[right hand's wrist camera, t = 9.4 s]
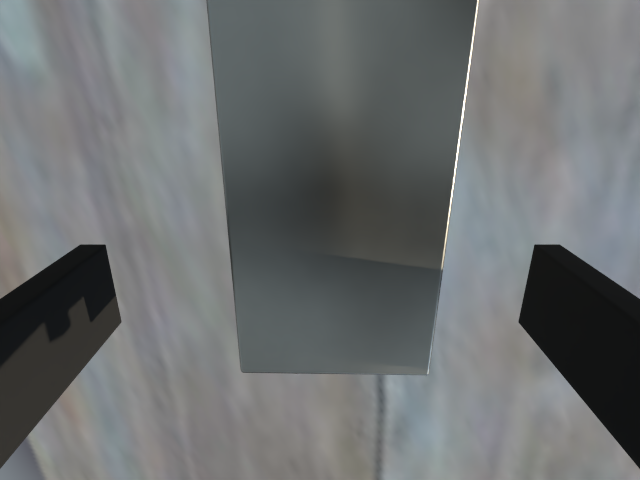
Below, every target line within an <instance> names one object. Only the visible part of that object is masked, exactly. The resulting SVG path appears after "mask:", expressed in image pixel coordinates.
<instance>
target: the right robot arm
mask: <svg viewBox="0 0 640 480" xmlns="http://www.w3.org/2000/svg"><path fill="white" fill-rule="evenodd" d="M120 323H121V317H120V312H119V308H118V303H117V298H116V293H115V288H114V284H113V279H112V274H111V269H110V264H109V260H108V255H107V250H106V245H79V246H78V247H76V248H75V249H73V250H72V251H70V252H69V253H67V254H66V255H64V256H63V257H61V258H60V259H59V260H57V261H56V262H54V263H53V264H51V265H50V266H48V267H47V268H45V269H44V270H42V271H41V272H39V273H38V274H36V275H35V276H33V277H32V278H31V279H29V280H28V281H26V282H25V283H23V284H22V285H20V286H19V287H17V288H16V289H14V290H13V291H11V292H10V293H8V294H7V295H6V296H4V297H3V298H1V299H0V468H1V467H2V466H3V465H4V463H5V462H6V461H7V460H8V459H9V457H10V456H11V455H12V454H13V453H14V451H15V450H16V449H17V448H18V447H19V445H20V444H21V443H22V442H23V441H24V439H25V438H26V437H27V436H28V434H29V433H30V432H31V431H32V430H33V428H34V427H35V426H36V425H37V424H38V422H39V421H40V420H41V419H42V418H43V416H44V415H45V414H46V413H47V411H48V410H49V409H50V408H51V407H52V405H53V404H54V403H55V402H56V401H57V399H58V398H59V397H60V396H61V395H62V393H63V392H64V391H65V390H66V389H67V387H68V386H69V385H70V384H71V382H72V381H73V380H74V379H75V378H76V376H77V375H78V374H79V373H80V372H81V370H82V369H83V368H84V367H85V366H86V364H87V363H88V362H89V361H90V359H91V358H92V357H93V356H94V355H95V353H96V352H97V351H98V350H99V349H100V347H101V346H102V345H103V344H104V343H105V341H106V340H107V339H108V338H109V337H110V335H111V334H112V333H113V332H114V330H115V329H116V328H117V327H118V326H119V324H120ZM519 323H520V324H521V326H522V327H523V328H524V329H525V330H526V332H527V333H528V334H529V335H530V337H531V338H532V339H533V340H534V341H535V343H536V344H537V345H538V346H539V347H540V349H541V350H542V351H543V352H544V353H545V355H546V356H547V357H548V358H549V359H550V361H551V362H552V363H553V364H554V366H555V367H556V368H557V369H558V370H559V372H560V373H561V374H562V375H563V376H564V378H565V379H566V380H567V381H568V382H569V384H570V385H571V386H572V387H573V389H574V390H575V391H576V392H577V393H578V395H579V396H580V397H581V398H582V399H583V401H584V402H585V403H586V404H587V405H588V407H589V408H590V409H591V410H592V411H593V413H594V414H595V415H596V416H597V418H598V419H599V420H600V421H601V422H602V424H603V425H604V426H605V427H606V428H607V430H608V431H609V432H610V433H611V434H612V436H613V437H614V438H615V439H616V441H617V442H618V443H619V444H620V445H621V447H622V448H623V449H624V450H625V451H626V453H627V454H628V455H629V456H630V457H631V459H632V460H633V461H634V462H635V463H636V465H637V466H638V467H639V468H640V299H639V298H637V297H636V296H634V295H633V294H632V293H630V292H629V291H627V290H626V289H624V288H623V287H621V286H620V285H618V284H617V283H615V282H614V281H612V280H611V279H609V278H608V277H606V276H605V275H604V274H602V273H601V272H599V271H598V270H596V269H595V268H593V267H592V266H590V265H589V264H587V263H586V262H584V261H583V260H581V259H580V258H579V257H577V256H576V255H574V254H573V253H571V252H570V251H568V250H567V249H565V248H564V247H562V246H561V245H534V250H533V255H532V260H531V264H530V269H529V274H528V279H527V284H526V288H525V293H524V298H523V303H522V308H521V312H520V317H519Z"/></svg>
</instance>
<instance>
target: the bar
mask: <svg viewBox="0 0 640 480" xmlns="http://www.w3.org/2000/svg"><path fill="white" fill-rule="evenodd" d="M478 7H479V0H207V11H208V22H209V33H210V44H211V54H212V65H213V76H214V87H215V98H216V108H217V119H218V130H219V141H220V151H221V162H222V173H223V184H224V195H225V205H226V216H227V227H228V238H229V248H230V259H231V270H232V281H233V292H234V302H235V313H236V324H237V335H238V346H239V356H240V367H241V371H242V372H243V373H311V374H382V375H428V374H429V368H430V361H431V354H432V346H433V339H434V331H435V324H436V317H437V309H438V302H439V294H440V287H441V280H442V272H443V265H444V258H445V250H446V243H447V235H448V228H449V221H450V213H451V206H452V198H453V191H454V184H455V176H456V169H457V162H458V154H459V147H460V139H461V132H462V125H463V117H464V110H465V102H466V95H467V88H468V80H469V73H470V66H471V58H472V51H473V43H474V36H475V29H476V21H477V14H478Z"/></svg>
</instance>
